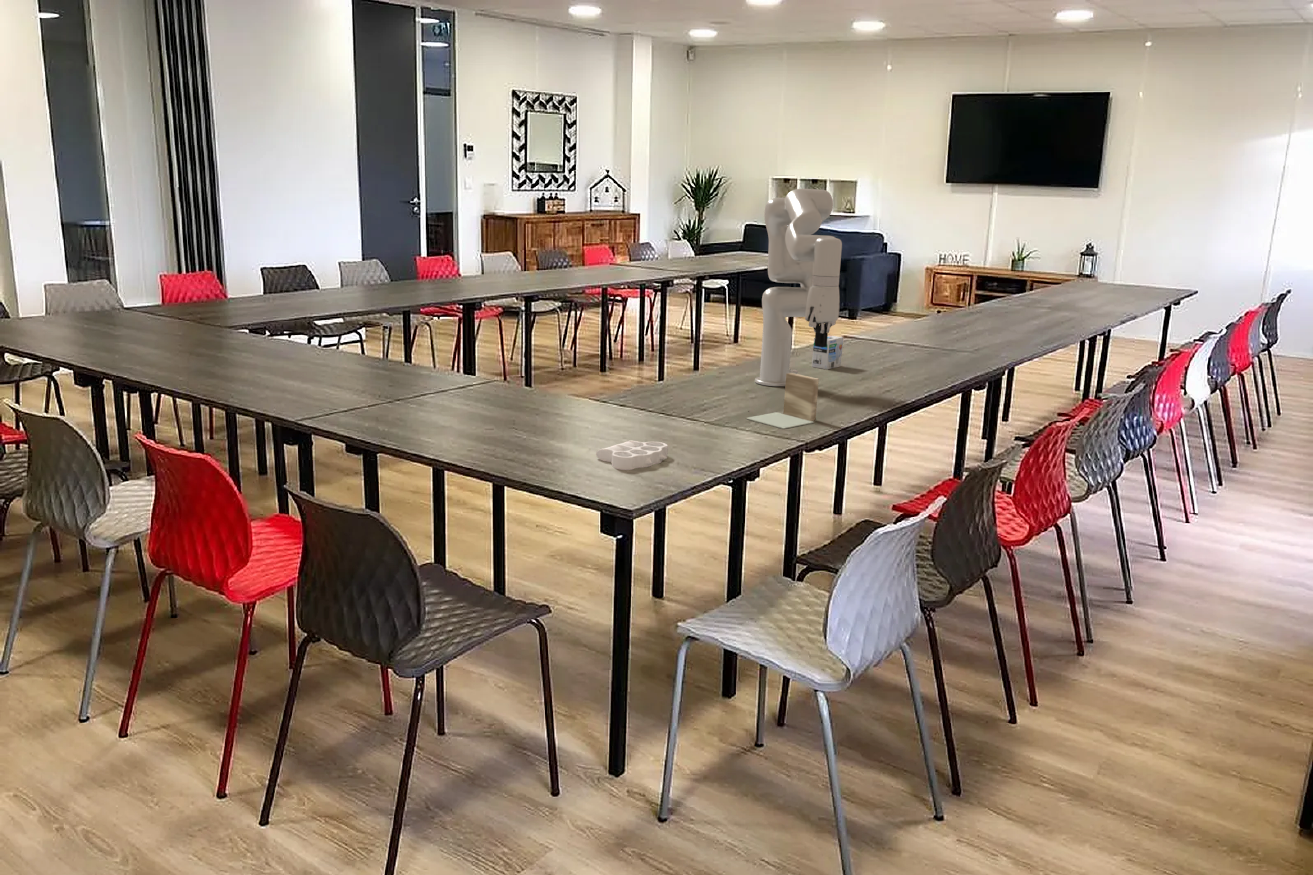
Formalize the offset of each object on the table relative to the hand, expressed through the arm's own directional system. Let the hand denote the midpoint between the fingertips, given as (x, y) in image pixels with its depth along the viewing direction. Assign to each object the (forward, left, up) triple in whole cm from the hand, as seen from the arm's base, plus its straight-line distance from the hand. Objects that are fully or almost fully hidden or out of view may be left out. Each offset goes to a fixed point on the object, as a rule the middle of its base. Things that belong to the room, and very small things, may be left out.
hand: (820, 346), depth 304 cm
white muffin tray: (+76, +7, -21) cm, 79 cm away
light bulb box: (-64, -47, -20) cm, 82 cm away
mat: (+15, 0, -20) cm, 25 cm away
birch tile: (+7, 0, -20) cm, 21 cm away
